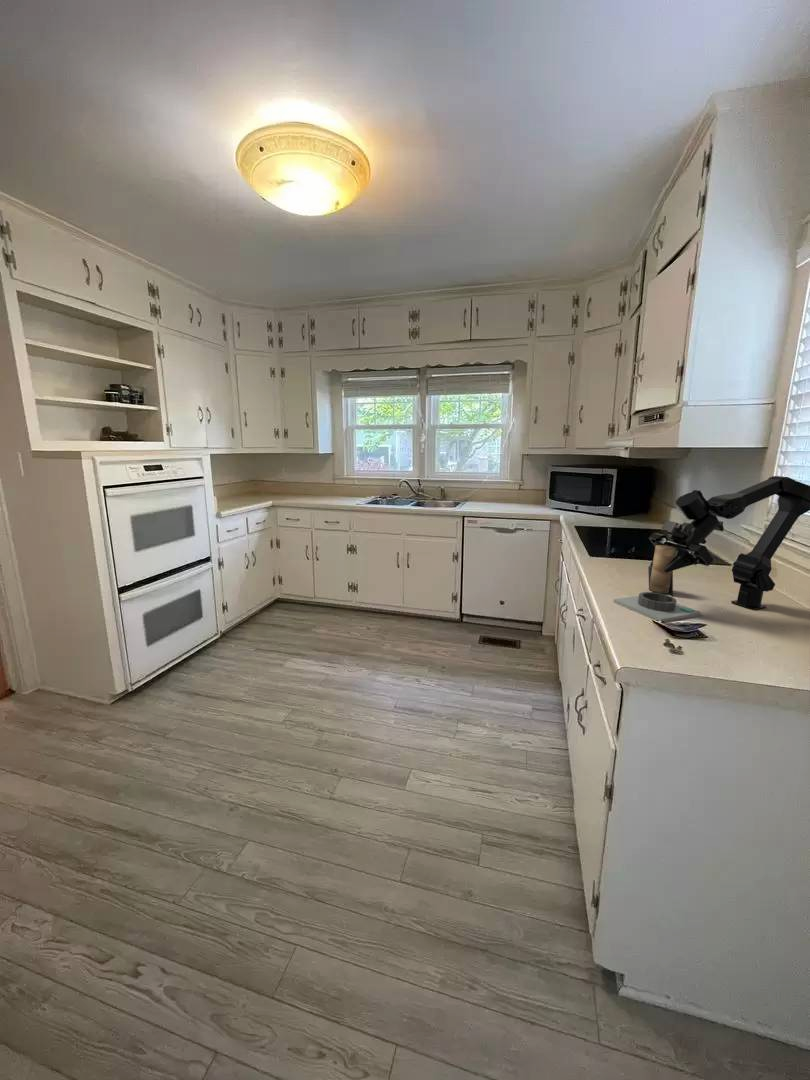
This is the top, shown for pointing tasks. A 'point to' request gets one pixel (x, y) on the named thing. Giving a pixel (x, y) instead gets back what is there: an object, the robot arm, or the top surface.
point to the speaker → (670, 581)
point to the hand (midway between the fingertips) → (658, 568)
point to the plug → (661, 569)
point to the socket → (657, 606)
